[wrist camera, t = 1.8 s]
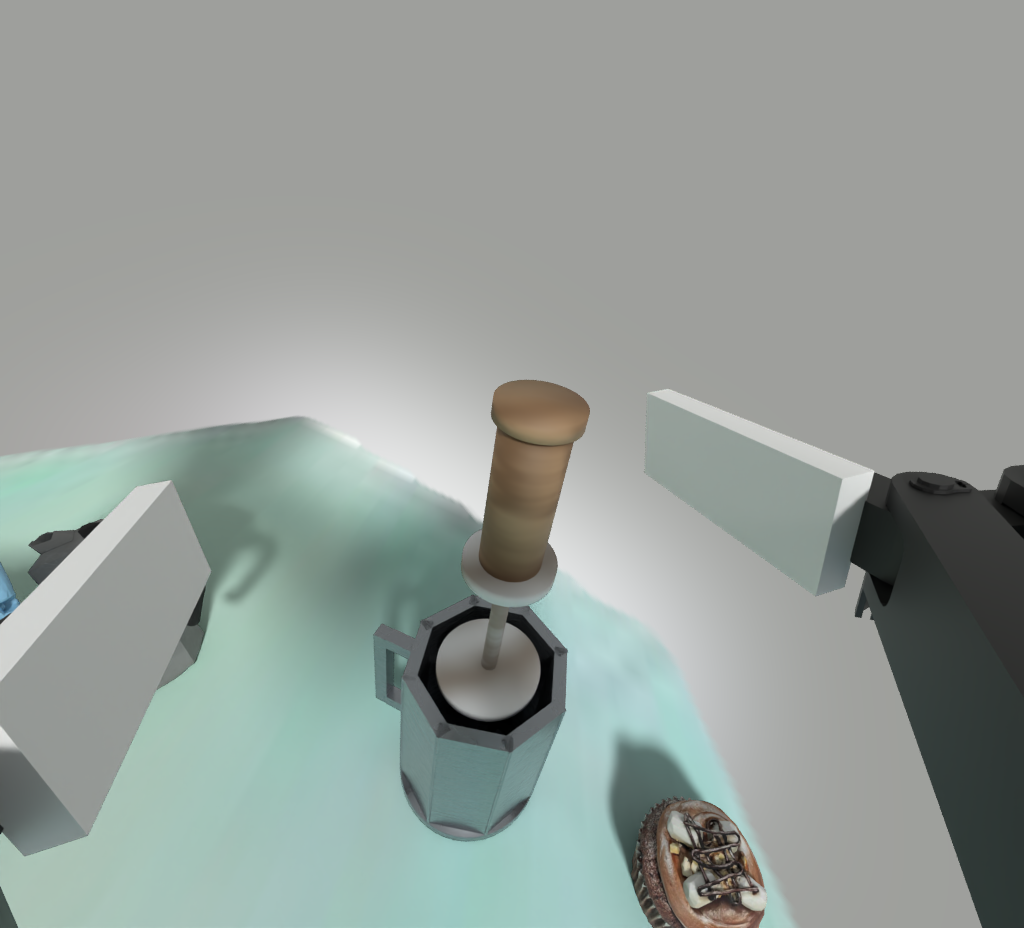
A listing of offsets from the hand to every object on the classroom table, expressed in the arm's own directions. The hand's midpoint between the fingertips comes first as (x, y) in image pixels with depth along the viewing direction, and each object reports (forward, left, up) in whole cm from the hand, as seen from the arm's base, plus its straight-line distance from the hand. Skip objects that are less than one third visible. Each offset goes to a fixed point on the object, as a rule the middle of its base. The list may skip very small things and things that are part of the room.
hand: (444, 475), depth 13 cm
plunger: (-6, +9, -26) cm, 28 cm away
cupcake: (+12, +18, -41) cm, 47 cm away
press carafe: (-7, +9, -41) cm, 42 cm away
